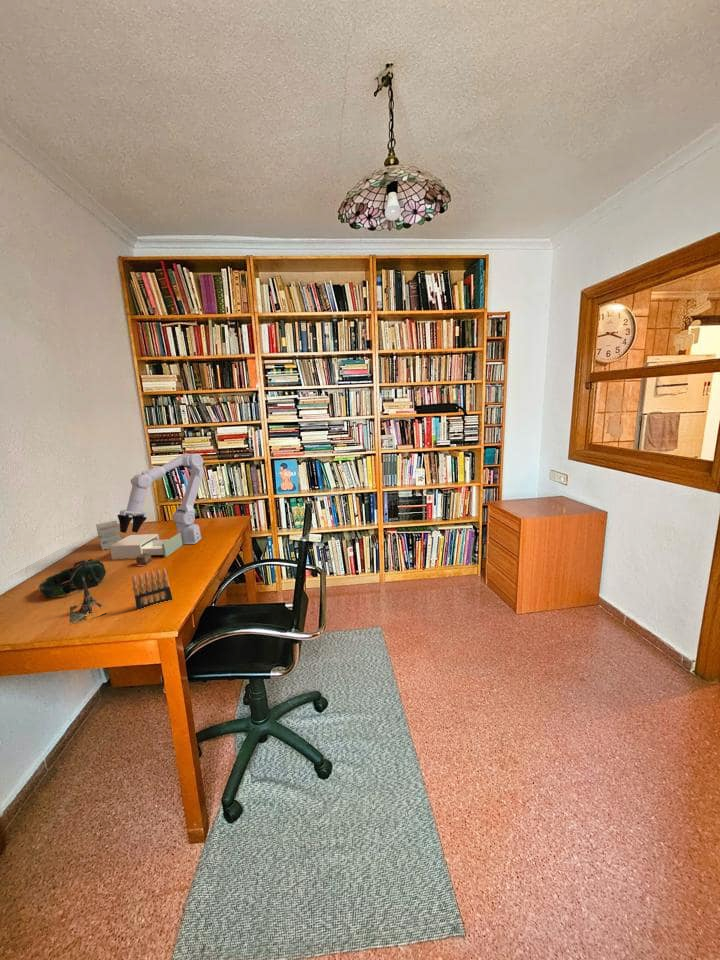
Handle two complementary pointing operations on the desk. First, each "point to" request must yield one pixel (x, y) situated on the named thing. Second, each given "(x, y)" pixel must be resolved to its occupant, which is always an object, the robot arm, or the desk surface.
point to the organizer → (131, 545)
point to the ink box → (108, 533)
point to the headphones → (73, 578)
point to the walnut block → (143, 559)
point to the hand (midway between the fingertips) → (128, 532)
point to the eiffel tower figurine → (83, 606)
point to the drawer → (163, 546)
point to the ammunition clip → (151, 589)
